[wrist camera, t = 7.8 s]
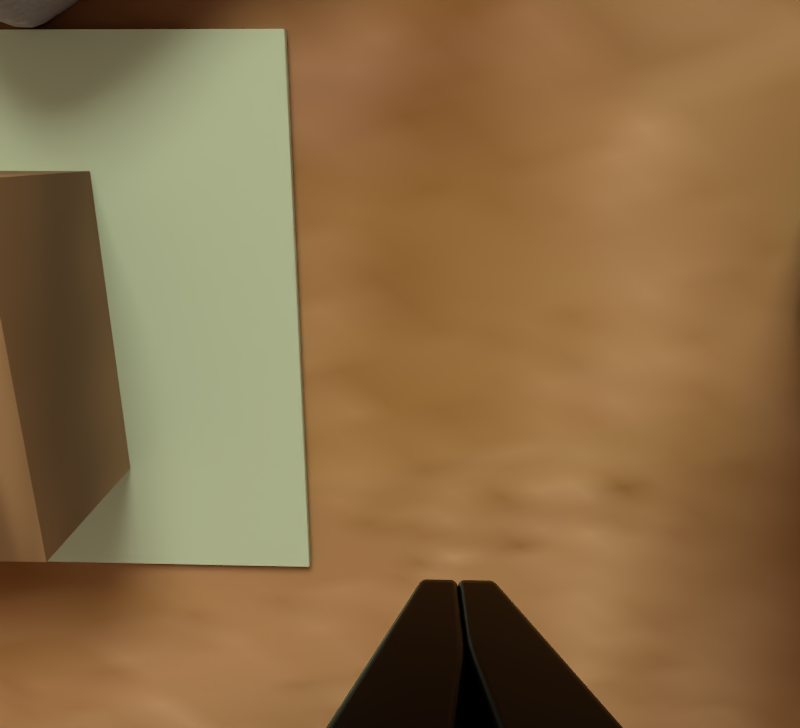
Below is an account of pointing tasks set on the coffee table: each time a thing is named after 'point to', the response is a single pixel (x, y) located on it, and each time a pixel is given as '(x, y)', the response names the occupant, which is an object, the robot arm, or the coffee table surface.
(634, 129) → the coffee table surface
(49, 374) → the walnut block
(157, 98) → the mat
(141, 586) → the coffee table surface
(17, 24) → the stone block
